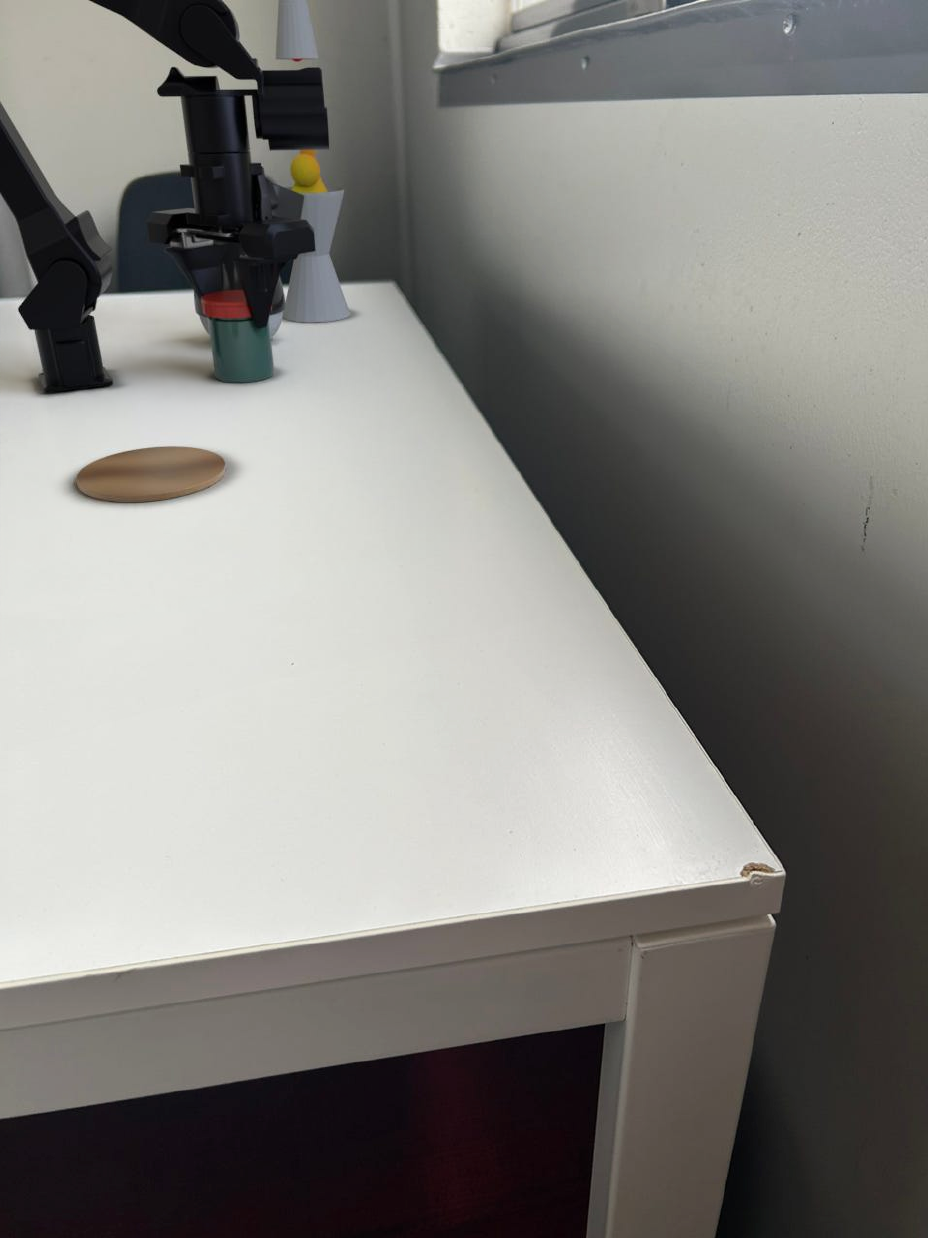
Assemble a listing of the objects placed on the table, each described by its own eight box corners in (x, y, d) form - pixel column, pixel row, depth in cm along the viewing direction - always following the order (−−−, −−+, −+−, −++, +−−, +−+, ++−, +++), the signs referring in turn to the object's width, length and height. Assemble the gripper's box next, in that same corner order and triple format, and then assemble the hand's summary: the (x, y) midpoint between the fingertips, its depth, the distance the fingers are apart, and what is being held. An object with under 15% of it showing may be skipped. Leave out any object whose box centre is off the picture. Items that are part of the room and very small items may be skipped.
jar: (209, 371, 103) (199, 300, 99) (265, 365, 105) (257, 295, 102) (223, 385, 98) (213, 311, 95) (281, 378, 100) (274, 305, 97)
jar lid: (198, 319, 95) (196, 303, 95) (207, 305, 101) (205, 290, 100) (269, 317, 96) (267, 301, 95) (274, 303, 102) (272, 288, 101)
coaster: (69, 464, 78) (68, 458, 78) (208, 444, 82) (207, 438, 82) (87, 512, 69) (86, 505, 69) (242, 486, 73) (241, 480, 73)
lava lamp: (283, 309, 131) (254, -2, 114) (351, 307, 132) (333, -2, 115) (279, 323, 123) (248, -8, 106) (352, 321, 124) (332, -8, 107)
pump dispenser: (271, 353, 110) (256, 205, 102) (184, 349, 112) (164, 204, 104) (302, 333, 118) (291, 195, 111) (221, 329, 120) (205, 194, 113)
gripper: (352, 150, 92) (361, 321, 99) (224, 144, 102) (242, 300, 110) (259, 157, 84) (277, 342, 92) (131, 150, 95) (157, 316, 102)
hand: (239, 323), depth 99 cm, fingers closed on jar lid, 7 cm apart
